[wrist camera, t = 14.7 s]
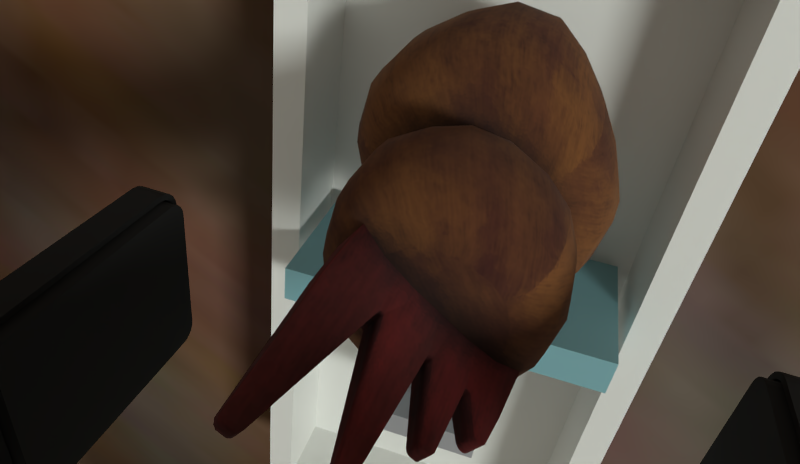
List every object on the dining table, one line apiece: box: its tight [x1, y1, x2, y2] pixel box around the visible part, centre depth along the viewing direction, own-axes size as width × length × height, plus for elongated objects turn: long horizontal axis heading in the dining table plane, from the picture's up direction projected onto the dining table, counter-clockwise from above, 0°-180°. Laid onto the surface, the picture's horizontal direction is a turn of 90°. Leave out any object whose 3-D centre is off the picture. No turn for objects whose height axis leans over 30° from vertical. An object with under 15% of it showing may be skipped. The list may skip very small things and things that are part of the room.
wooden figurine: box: [213, 2, 620, 464], centre depth 13 cm, size 7×6×15 cm
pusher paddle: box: [285, 202, 619, 458], centre depth 22 cm, size 10×7×5 cm
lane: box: [270, 0, 800, 464], centre depth 23 cm, size 13×26×4 cm, turn 173°
